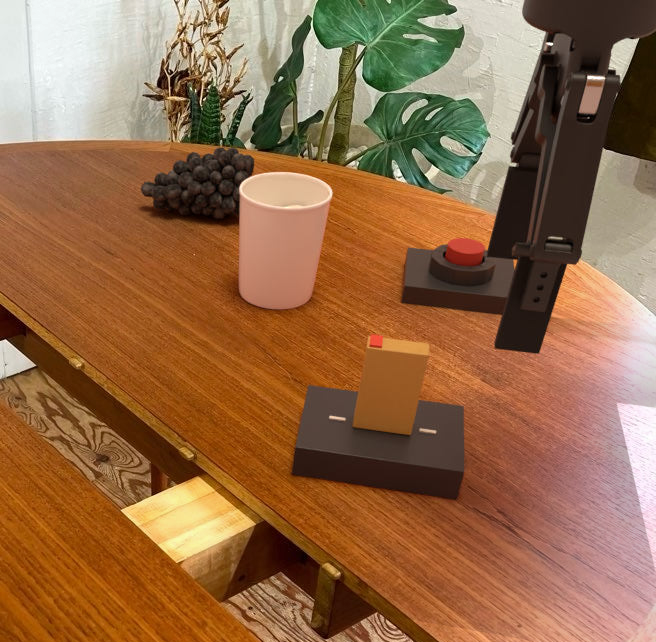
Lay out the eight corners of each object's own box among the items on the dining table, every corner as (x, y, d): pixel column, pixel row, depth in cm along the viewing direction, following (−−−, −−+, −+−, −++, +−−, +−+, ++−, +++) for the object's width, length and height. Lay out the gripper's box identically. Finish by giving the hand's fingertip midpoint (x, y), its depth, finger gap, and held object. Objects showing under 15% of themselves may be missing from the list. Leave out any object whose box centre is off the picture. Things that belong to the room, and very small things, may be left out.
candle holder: (215, 283, 111) (221, 181, 103) (287, 266, 114) (298, 165, 106) (262, 321, 104) (272, 214, 96) (336, 301, 107) (351, 197, 100)
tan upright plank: (411, 422, 84) (430, 340, 79) (410, 435, 83) (429, 352, 77) (354, 414, 85) (368, 332, 80) (352, 427, 84) (367, 344, 78)
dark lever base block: (456, 432, 88) (464, 404, 86) (456, 499, 81) (465, 470, 79) (304, 411, 91) (308, 383, 89) (291, 474, 83) (295, 445, 81)
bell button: (481, 254, 109) (484, 239, 108) (481, 270, 106) (485, 255, 105) (444, 250, 109) (448, 236, 108) (444, 265, 106) (447, 251, 105)
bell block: (508, 276, 112) (517, 243, 110) (512, 316, 105) (522, 283, 102) (404, 264, 115) (410, 232, 112) (400, 303, 107) (407, 270, 105)
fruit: (137, 144, 119) (258, 148, 117) (146, 144, 127) (261, 148, 125) (135, 217, 122) (253, 222, 120) (144, 212, 130) (256, 217, 128)
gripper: (523, -92, 62) (453, 220, 76) (558, -5, 44) (457, 387, 58) (646, -87, 61) (552, 230, 75) (735, 6, 43) (588, 404, 56)
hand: (510, 299), depth 66 cm, fingers open, 13 cm apart
